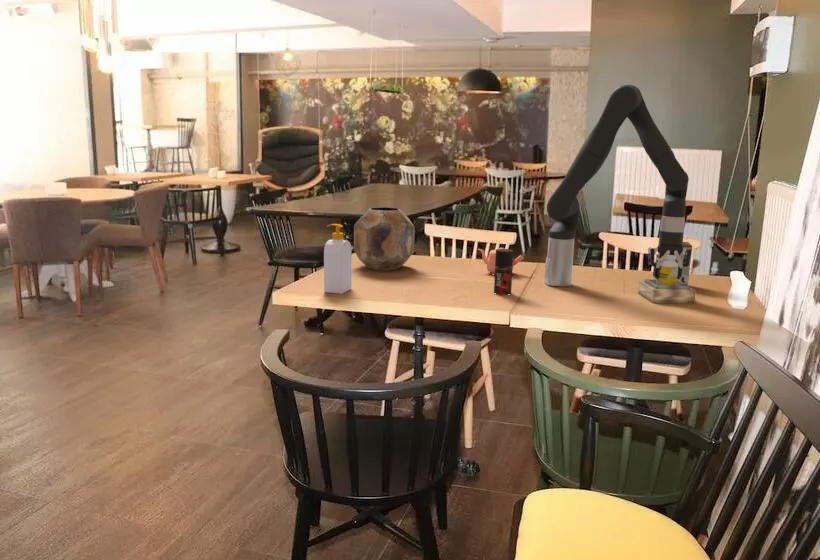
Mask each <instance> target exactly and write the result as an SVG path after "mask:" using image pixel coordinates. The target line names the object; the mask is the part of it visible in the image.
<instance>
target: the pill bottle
mask: <svg viewBox="0 0 820 560" xmlns="http://www.w3.org/2000/svg"><path fill="white" fill-rule="evenodd" d="M675 260H676V255H666V259H665V260H664V262H663V263H661V265H660V267H659V268H660V271H659V279H657V280H656V285H658V286H676V284H677V275H678V266H679V265H678V263H677V262H676V261H675Z"/></svg>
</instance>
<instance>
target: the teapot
mask: <svg viewBox="0 0 820 560" xmlns="http://www.w3.org/2000/svg"><path fill="white" fill-rule="evenodd" d="M497 249H505V248H504V247H498V248H497ZM477 250H478V251H479V252H481V256H482V257H481V258H482V261H483V264H485V265H486V270H487V272H491V273H490V275H491V274H495V258H496V249H491V250H490V251H489V254H488V257H487V255H486V253H485V250H484V249H482V248H477ZM522 260H524V257H523V256H522V254H520V255H518V257H516V258H514V259H513V268H512V271H513V270H514V267H515V266H516V265H517V264H518V263H520V262H521V261H522Z"/></svg>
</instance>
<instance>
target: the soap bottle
mask: <svg viewBox="0 0 820 560" xmlns="http://www.w3.org/2000/svg"><path fill="white" fill-rule="evenodd" d="M330 226H335V232H332V238H331V239H328V240H327V241H326V242H325V244H324V249H323V289H324V291H323V292H324V293H327V294H328V293H329V294H340V295H342V294H343V293H346V292H348V291H350V290H351V289H352V245H351V242H350V241H349V240H344V232H341V230H340V229H341V228H343V227H344V225H342V224H340V223H330V224H328V225H326V227H327V228H328V227H330Z"/></svg>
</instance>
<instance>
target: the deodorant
mask: <svg viewBox="0 0 820 560" xmlns="http://www.w3.org/2000/svg"><path fill="white" fill-rule="evenodd" d="M495 250H496V258H495V275H494V283H493V285H494V286H493V294H494V293H496V294H495V295H497V294H500V295H499V296H509V295H508V294H510V295H511V294H512V288H513V287H512V285H513V270H512V268H513V269H514V267H513V261H514V250H513V249H510V248H509V249H508V248H504V249H498V248H497V249H495Z"/></svg>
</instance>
